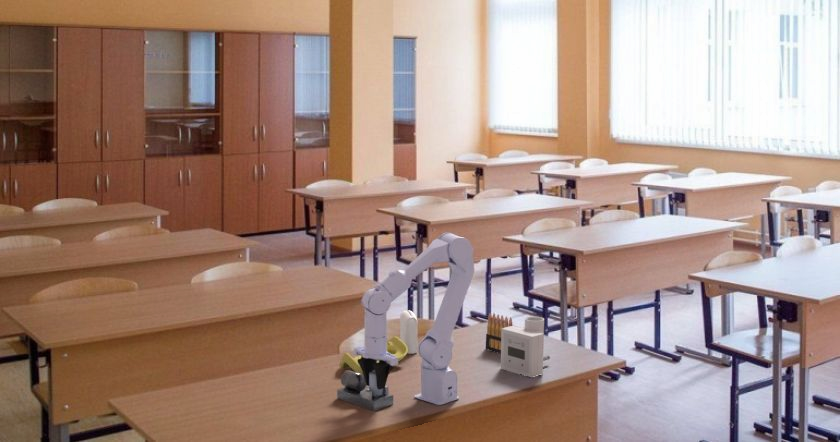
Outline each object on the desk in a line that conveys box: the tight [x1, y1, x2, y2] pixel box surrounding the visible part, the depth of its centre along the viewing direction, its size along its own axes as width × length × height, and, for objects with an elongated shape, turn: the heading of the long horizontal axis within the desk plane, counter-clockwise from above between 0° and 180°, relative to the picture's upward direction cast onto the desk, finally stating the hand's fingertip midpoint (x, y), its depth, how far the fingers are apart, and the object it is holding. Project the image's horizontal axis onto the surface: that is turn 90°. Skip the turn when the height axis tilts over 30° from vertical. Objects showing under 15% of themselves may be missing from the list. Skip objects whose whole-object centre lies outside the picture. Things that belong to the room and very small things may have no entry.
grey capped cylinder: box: [368, 370, 383, 396], centre depth 257 cm, size 4×4×6 cm
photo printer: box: [399, 309, 419, 355], centre depth 310 cm, size 10×4×12 cm, turn 13°
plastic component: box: [339, 336, 408, 375], centre depth 292 cm, size 20×7×10 cm
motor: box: [336, 369, 394, 411], centre depth 260 cm, size 15×7×7 cm, turn 46°
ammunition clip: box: [485, 312, 513, 354], centre depth 308 cm, size 11×2×12 cm, turn 42°
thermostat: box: [500, 316, 551, 378], centre depth 290 cm, size 12×14×15 cm
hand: (375, 386), depth 257 cm, fingers closed on grey capped cylinder, 4 cm apart
